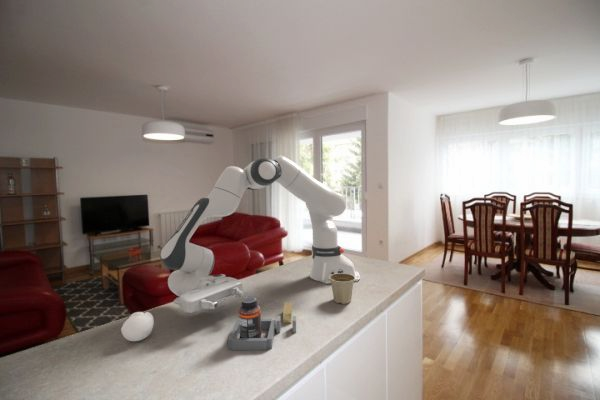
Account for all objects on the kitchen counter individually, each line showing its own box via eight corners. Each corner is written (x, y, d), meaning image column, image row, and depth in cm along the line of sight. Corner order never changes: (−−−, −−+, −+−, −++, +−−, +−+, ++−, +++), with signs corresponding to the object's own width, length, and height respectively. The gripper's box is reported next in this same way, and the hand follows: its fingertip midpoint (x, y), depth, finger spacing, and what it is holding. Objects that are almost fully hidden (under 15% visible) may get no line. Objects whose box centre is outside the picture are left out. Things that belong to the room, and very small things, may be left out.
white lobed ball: (143, 329, 83) (142, 304, 83) (161, 335, 80) (159, 308, 80) (116, 343, 76) (114, 315, 76) (134, 350, 73) (132, 321, 72)
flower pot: (323, 301, 101) (323, 277, 100) (339, 293, 108) (338, 271, 107) (345, 308, 95) (345, 283, 94) (360, 299, 101) (360, 276, 101)
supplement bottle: (254, 331, 81) (252, 293, 80) (265, 339, 77) (264, 299, 76) (235, 339, 77) (234, 299, 77) (246, 348, 73) (245, 306, 72)
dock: (296, 326, 83) (296, 315, 83) (295, 349, 72) (295, 336, 72) (237, 327, 83) (237, 316, 83) (227, 350, 72) (227, 337, 72)
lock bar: (285, 311, 94) (284, 302, 93) (292, 311, 93) (292, 302, 93) (283, 323, 86) (283, 313, 85) (291, 323, 86) (291, 313, 85)
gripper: (170, 290, 83) (196, 301, 75) (226, 272, 99) (253, 280, 91) (171, 311, 84) (197, 324, 75) (226, 289, 100) (253, 299, 91)
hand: (228, 300), depth 83 cm, fingers open, 8 cm apart
